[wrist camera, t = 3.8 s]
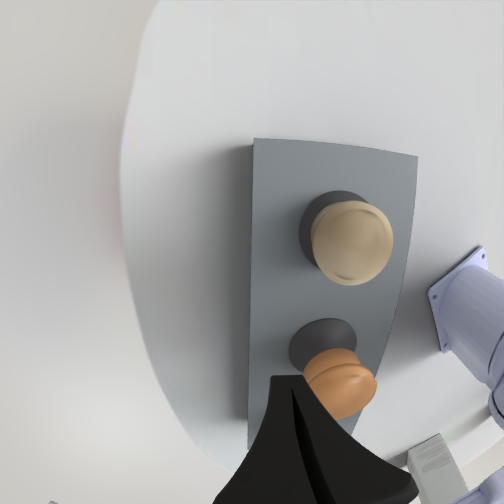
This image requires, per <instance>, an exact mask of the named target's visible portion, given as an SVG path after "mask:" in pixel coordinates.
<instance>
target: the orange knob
mask: <svg viewBox="0 0 504 504" xmlns="http://www.w3.org/2000/svg"><path fill="white" fill-rule="evenodd" d="M303 376H304V377H305V379H306V381H307V383H308V384H309V386H310V387H311V389H312V390H313V392H314V393H315V395H316V396H317V398H318V399H319V401H320V402H321V403H322V404H323V406H324V407H325V408H326V410H327V411H328V412H329V413H330V415H331V416H332V417H333V418H334V419H335V420H339V419H343V418H346V417H348V416H351V415H353V414H355V413H357V412H358V411H360V410H361V409H363V408H364V407H365V406H366V405H367V404H368V403H369V402H370V401H371V400H372V398H373V397H374V395H375V392H376V388H377V383H376V380H375V378H374V376H373V374H372V372H371V371H370V370H369V369H368V368H367V367H365V366H364V365H362V364H361V362H360V360H359V359H358V357H357V355H356V354H355V353H354V352H353V351H351V350H348V349H344V348H335V349H330V350H326V351H324V352H322V353H320V354H318V355H316V356H315V357H314V358H312V359H311V360H310V361H309V362H308V364H307V365H306V367H305V369H304V372H303Z"/></svg>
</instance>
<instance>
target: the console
mask: <svg viewBox="0 0 504 504" xmlns="http://www.w3.org/2000/svg"><path fill="white" fill-rule="evenodd" d="M417 163H418V157H417V156H412V155H407V154H402V153H397V152H391V151H385V150H379V149H372V148H366V147H358V146H351V145H343V144H334V143H324V142H313V141H300V140H284V139H259V138H254V142H253V172H252V221H251V271H250V322H249V375H248V450H250V448H251V446H252V444H253V442H254V440H255V438H256V436H257V433H258V431H259V429H260V426H261V423H262V421H263V418H264V415H265V412H266V408H267V403H268V394H269V385H270V377H271V376H273V375H303V372H304V369H305V367H306V365H307V364H308V362H309V361H310V360H311V359H312V358H314V357H315V356H316V355H318V354H320V353H322V352H324V351H326V350H330V349H335V348H344V349H348V350H351V351H353V352H354V353H355V354H356V355H357V357H358V359H359V360H360V362H361V364H362V365H364V366H365V367H367V368H368V369H369V370H370V371H371V372H372V374H373V376H374V378H375V376H376V374H377V371H378V368H379V365H380V362H381V359H382V356H383V353H384V350H385V347H386V343H387V340H388V337H389V333H390V330H391V326H392V323H393V319H394V315H395V311H396V308H397V303H398V299H399V295H400V291H401V286H402V282H403V277H404V272H405V267H406V261H407V256H408V250H409V244H410V237H411V230H412V223H413V214H414V205H415V195H416V182H417ZM346 201H361V202H365V203H367V204H370V205H372V206H375V207H376V208H378V209H379V210H380V211H381V212H382V213H383V214H384V215H385V216H386V217H387V219H388V221H389V223H390V225H391V228H392V232H393V248H392V252H391V255H390V258H389V260H388V262H387V264H386V265H385V267H384V268H383V269H382V271H381V272H380V273H379V274H378V275H377V276H375V277H374V278H373V279H371V280H369V281H367V282H365V283H362V284H359V285H352V286H349V285H341V284H338V283H336V282H334V281H332V280H330V279H329V278H328V277H327V276H326V275H325V274H324V273H323V272H322V271H321V269H320V268H319V266H318V264H317V263H316V260H315V258H314V255H313V249H312V243H311V227H312V224H313V222H314V219H315V218H316V216H317V215H318V213H319V212H320V211H321V210H322V209H324V208H325V207H327V206H328V205H330V204H333V203H336V202H346ZM361 412H362V409H361V410H360V411H358V412H357V413H355V414H353V415H351V416H348V417H346V418H343V419H339V420H336V421H337V423H338V424H339V425H340V426H341V427H342V428H343V429H344V430H345V431H346V432H347V433H348V434H349V435H350V436H351V434H352V432H353V430H354V428H355V425H356V423H357V421H358V419H359V416H360V414H361Z"/></svg>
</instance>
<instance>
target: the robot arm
mask: <svg viewBox="0 0 504 504" xmlns="http://www.w3.org/2000/svg"><path fill="white" fill-rule="evenodd" d="M434 295H435V296H434ZM433 296H434V297H433ZM428 297H429V301H430V304H431V308H432V312H433V316H434V320H435V324H436V328H437V332H438V337H439V342H440V346H441V351H442V353H443V354H446V353H447V352H448V351H450V350H452V351H453V353H454V354H455V355H456V356H457V357H458V358H459V359H460V360H461V361H462V363H463V364H464V365H465V366H466V367H467V368H468V369H469V371H470V372H471V373H472V374H473V375H474V376H475V378H476V379H477V380H479V381H480V382H482V383H485V384H486V385H487V386H488V387H489V388H490V390H491V392H490V394H489V398H488V404H489V409H490V411H491V414H492V417H493V419H494V420H495V422H496V423H497V424H498V425H499V426H500V427H501V428H502V429H504V280H503V279H501V278H500V277H498V276H496V275H495V274H493V273H491V272H489V270H488V263H487V256H486V250H485V248H484V247H483V246H480V247H479V248H478V249H477V250H476V251H475V252H473V253H472V254H471V255H470V256H469V257H468V258H467V259H465V260H464V261H463V262H462V263H461V264H460V265H458V266H457V267H456V268H455V269H454V270H452V271H451V272H450V273H449V274H447V275H446V276H445V277H444V278H442V279H441V280H440V281H439V282H437V283H436V284H435V285H433V286H432V287H431V288H430V289H429V290H428ZM418 493H419V489H418V487H417V484H416V482H415V480H414V479H413V477H412V475H411V473H408V472H406V471H404V470H402V469H399V468H397V467H395V466H393V465H391V464H389V463H388V462H386V461H384V460H382V459H381V458H379V457H378V456H376V455H375V454H373V453H372V452H370V451H369V450H368V449H366V448H365V447H363V446H362V445H361V444H360V443H359V442H357V441H356V440H355V439H354V438H353V437H352V436H350V435H349V434H348V433H347V432H346V431H345V430H344V429H343V428H342V427H341V426H340V425H339V424H338V423H337V421H336V420H335V419H334V418H333V417H332V416H331V415H330V413H329V412H328V411H327V410H326V408H325V407H324V406H323V404H322V403H321V402H320V401H319V399H318V398H317V396H316V395H315V393H314V392H313V390H312V389H311V387H310V386H309V384H308V383H307V381H306V379H305V377H304V376H303V375H273V376H271V377H270V385H269V394H268V403H267V408H266V412H265V415H264V418H263V421H262V423H261V426H260V429H259V431H258V433H257V436H256V438H255V440H254V442H253V444H252V446H251V448H250V450H249V451H248V453H247V455H246V457H245V459H244V460H243V462H242V463H241V465H240V466H239V468H238V469H237V471H236V472H235V474H234V475H233V477H232V478H231V479H230V481H229V482H228V483H227V485H226V486H225V487H224V488H223V489H222V490H221V492H220V493H219V494H218V495H217V496H216V498H215V500H214V502H213V504H409V503H410V502H411V501H412V500H414V499H415V498H416V497H417V495H418ZM49 504H57V503H55V502H53V501H50V502H49ZM448 504H504V466H503V467H502V468H500V469H499V470H498V471H496V472H495V473H493V474H492V475H490V476H489V477H488V478H487V479H485V480H484V481H483V482H482V483H481V484H480V485H479V486H478V487H476V488H475V489H473V490H471V491H470V492H468V493H466V494H465V495H463V496H461V497H459V498H458V499H456V500H454V501H452V502H450V503H448Z"/></svg>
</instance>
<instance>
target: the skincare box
mask: <svg viewBox="0 0 504 504" xmlns="http://www.w3.org/2000/svg"><path fill="white" fill-rule="evenodd" d="M407 467H408V470H409V472H410V473H411V475H412V477H413V479H414V480H415V482H416V484H417V487H418V489H419V493H418V496H419V498H420V501H421V504H448V503H450V502H452V501H454V500H456V499H458V498H459V497H461V496H463V495H465V494H466V493H468V492H469V490H468V487H467V485H466V483H465V481H464V479H463V477H462V475H461V473H460V471H459V469H458V466H457V465H456V463H455V461H454V459H453V457H452V455H451V453H450V451H449V449H448V447H447V445H446V443H445V441H444V439H443V438H442V436H441V434H440V433H439V434H437V435H436V436H434V437H432V438H430V439H428V440H427V441H425V442H423V443H421V444H419V445H417V446H415V447H413V448H411V449H409V450H408V456H407Z"/></svg>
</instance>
